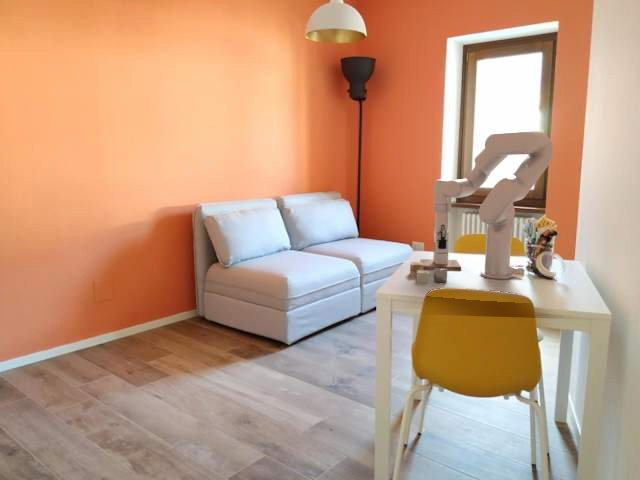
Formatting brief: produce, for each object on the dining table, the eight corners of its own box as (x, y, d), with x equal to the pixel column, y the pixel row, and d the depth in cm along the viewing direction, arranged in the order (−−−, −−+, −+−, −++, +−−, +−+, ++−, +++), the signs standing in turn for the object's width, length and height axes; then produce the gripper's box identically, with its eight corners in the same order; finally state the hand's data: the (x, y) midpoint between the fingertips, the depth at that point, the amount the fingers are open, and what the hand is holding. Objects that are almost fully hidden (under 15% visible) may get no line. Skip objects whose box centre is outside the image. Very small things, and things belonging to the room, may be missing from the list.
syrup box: (448, 264, 226) (449, 231, 224) (434, 264, 227) (435, 231, 224) (445, 261, 232) (447, 229, 229) (432, 261, 232) (433, 229, 230)
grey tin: (445, 280, 206) (446, 268, 205) (447, 283, 201) (448, 271, 200) (433, 280, 206) (433, 267, 206) (434, 283, 202) (434, 270, 201)
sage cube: (426, 280, 206) (427, 270, 205) (427, 283, 202) (427, 273, 202) (416, 280, 207) (416, 270, 206) (417, 282, 203) (417, 272, 202)
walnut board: (456, 263, 236) (456, 259, 235) (461, 270, 222) (461, 266, 222) (420, 262, 237) (420, 259, 237) (423, 269, 224) (423, 266, 224)
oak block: (422, 274, 217) (422, 262, 216) (423, 277, 212) (423, 265, 211) (409, 273, 217) (410, 262, 216) (410, 276, 212) (410, 264, 211)
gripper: (431, 205, 234) (430, 243, 237) (435, 210, 217) (434, 250, 220) (448, 205, 233) (447, 243, 236) (453, 210, 216) (452, 250, 219)
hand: (440, 246), depth 228 cm, fingers open, 9 cm apart
